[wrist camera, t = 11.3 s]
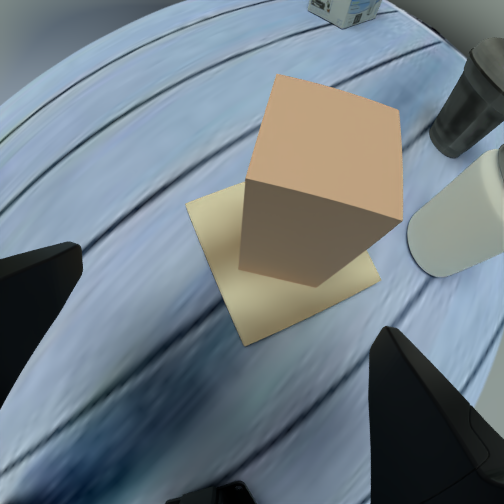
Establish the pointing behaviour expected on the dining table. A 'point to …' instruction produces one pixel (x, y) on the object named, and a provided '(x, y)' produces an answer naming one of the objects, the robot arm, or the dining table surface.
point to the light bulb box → (345, 11)
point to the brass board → (258, 286)
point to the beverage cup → (473, 101)
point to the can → (462, 220)
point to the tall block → (319, 182)
